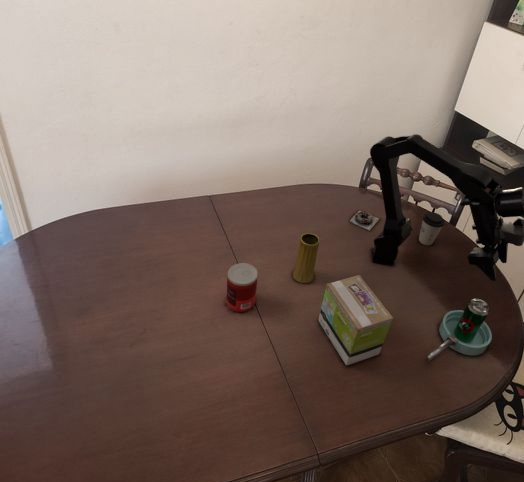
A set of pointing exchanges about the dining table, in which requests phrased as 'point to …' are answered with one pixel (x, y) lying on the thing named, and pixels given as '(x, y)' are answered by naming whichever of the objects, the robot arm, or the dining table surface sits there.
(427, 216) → the coffee cup
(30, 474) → the dining table surface
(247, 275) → the canned food
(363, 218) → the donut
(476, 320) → the soda can
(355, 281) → the tea box
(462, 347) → the pan
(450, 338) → the pan handle
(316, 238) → the vase
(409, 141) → the robot arm
